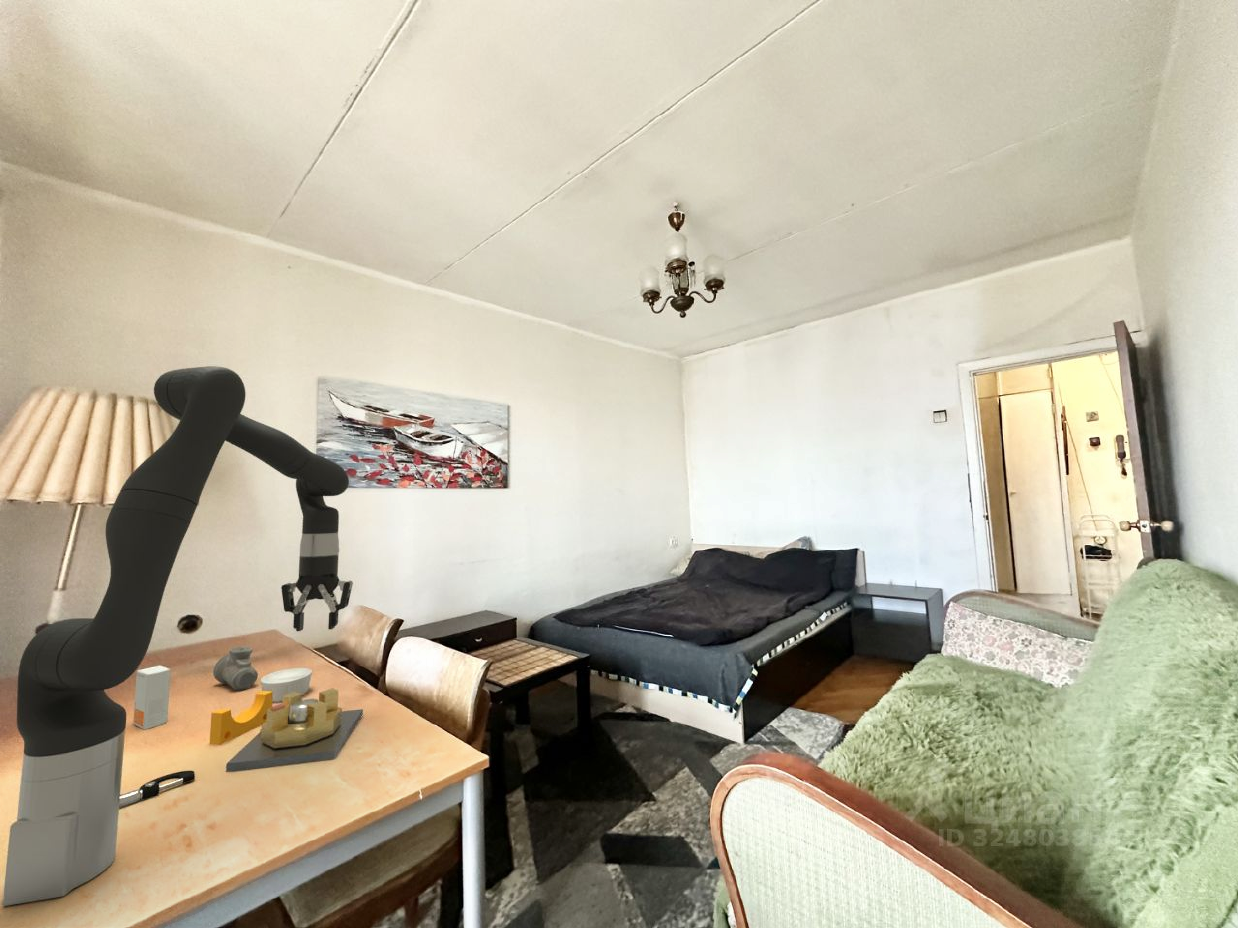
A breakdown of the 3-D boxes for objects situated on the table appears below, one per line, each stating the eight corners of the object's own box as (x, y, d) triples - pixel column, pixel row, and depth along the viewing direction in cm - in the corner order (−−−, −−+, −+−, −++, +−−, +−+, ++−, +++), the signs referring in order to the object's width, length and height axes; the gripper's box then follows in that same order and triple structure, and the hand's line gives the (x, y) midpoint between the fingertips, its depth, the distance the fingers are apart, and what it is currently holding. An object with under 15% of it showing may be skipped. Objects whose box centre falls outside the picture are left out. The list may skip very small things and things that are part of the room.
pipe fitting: (209, 684, 132) (217, 646, 133) (244, 678, 139) (252, 642, 140) (223, 699, 125) (231, 659, 126) (259, 692, 132) (267, 654, 133)
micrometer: (188, 770, 90) (189, 756, 90) (198, 783, 86) (199, 768, 86) (67, 810, 78) (69, 794, 78) (72, 828, 74) (73, 810, 74)
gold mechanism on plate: (334, 758, 93) (336, 718, 94) (224, 772, 89) (226, 729, 89) (362, 715, 112) (363, 682, 113) (273, 724, 108) (275, 690, 109)
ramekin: (271, 707, 118) (272, 685, 118) (251, 698, 123) (252, 677, 124) (319, 692, 127) (320, 672, 128) (298, 684, 133) (299, 665, 133)
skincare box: (131, 724, 109) (136, 670, 110) (156, 717, 112) (160, 664, 113) (143, 730, 106) (147, 674, 107) (168, 722, 110) (172, 668, 111)
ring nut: (326, 742, 96) (328, 706, 97) (251, 750, 93) (253, 714, 93) (346, 715, 109) (347, 683, 109) (281, 721, 105) (282, 689, 106)
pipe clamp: (255, 719, 112) (257, 690, 112) (271, 720, 111) (272, 691, 111) (202, 744, 100) (204, 711, 100) (219, 745, 99) (221, 713, 100)
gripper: (275, 556, 103) (271, 636, 102) (349, 553, 107) (346, 631, 105) (290, 552, 111) (286, 627, 109) (359, 550, 114) (356, 623, 113)
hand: (315, 629), depth 107 cm, fingers open, 5 cm apart
